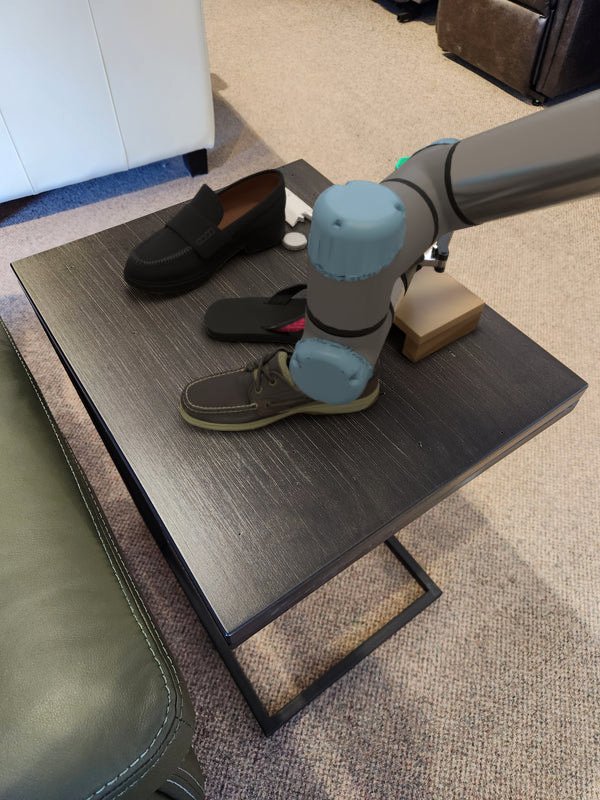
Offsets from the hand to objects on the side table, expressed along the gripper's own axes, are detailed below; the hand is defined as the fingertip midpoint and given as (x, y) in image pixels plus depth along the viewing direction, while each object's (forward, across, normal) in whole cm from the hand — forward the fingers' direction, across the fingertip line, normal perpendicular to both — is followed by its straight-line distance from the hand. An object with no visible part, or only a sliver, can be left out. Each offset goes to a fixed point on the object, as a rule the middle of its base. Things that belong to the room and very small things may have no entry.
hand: (424, 176), depth 77 cm
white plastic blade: (+9, -21, -17) cm, 29 cm away
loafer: (-8, -29, -17) cm, 34 cm away
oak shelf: (-5, 0, -17) cm, 18 cm away
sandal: (-16, -11, -17) cm, 26 cm away
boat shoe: (-29, -8, -17) cm, 35 cm away
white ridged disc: (+2, -19, -17) cm, 25 cm away
